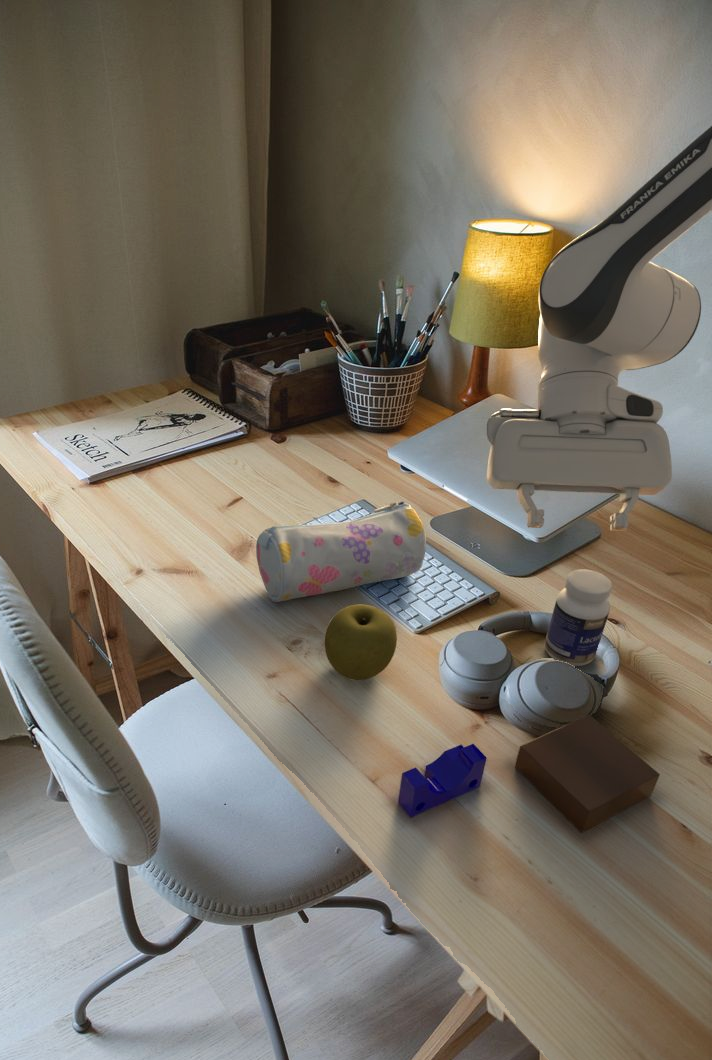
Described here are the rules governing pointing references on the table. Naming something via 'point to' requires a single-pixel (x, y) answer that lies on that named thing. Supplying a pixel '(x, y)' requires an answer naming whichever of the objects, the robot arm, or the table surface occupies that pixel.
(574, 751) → the block
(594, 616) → the pill bottle
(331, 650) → the apple
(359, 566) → the pencil case
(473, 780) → the cable holder
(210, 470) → the table surface
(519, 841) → the table surface
